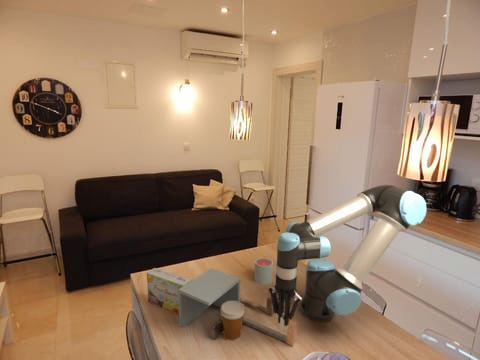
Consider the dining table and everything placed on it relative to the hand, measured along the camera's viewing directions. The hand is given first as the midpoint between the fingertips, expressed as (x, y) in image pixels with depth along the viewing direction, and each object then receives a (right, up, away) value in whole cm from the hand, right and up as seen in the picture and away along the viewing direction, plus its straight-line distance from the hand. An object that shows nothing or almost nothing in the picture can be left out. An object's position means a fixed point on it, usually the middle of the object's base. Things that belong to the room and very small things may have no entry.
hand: (282, 331), depth 118 cm
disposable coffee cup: (-19, -3, +3) cm, 20 cm away
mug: (-3, +6, +45) cm, 45 cm away
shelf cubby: (-28, -1, +11) cm, 30 cm away
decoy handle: (-11, +1, +20) cm, 23 cm away
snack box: (-47, +1, +19) cm, 51 cm away
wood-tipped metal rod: (-11, -3, 0) cm, 12 cm away
